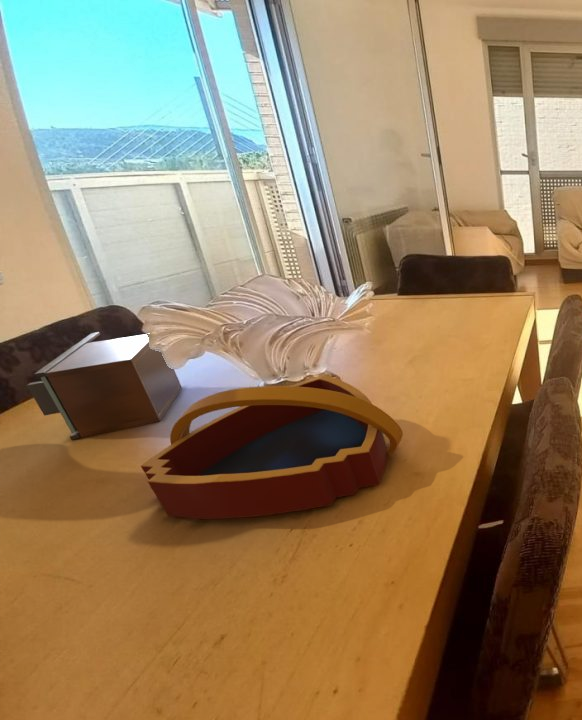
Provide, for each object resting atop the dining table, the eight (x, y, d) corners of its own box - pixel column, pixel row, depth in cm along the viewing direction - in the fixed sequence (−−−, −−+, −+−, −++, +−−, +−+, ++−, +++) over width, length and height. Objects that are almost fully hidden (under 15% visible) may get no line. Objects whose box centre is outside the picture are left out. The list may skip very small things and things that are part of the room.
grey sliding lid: (52, 437, 84) (19, 380, 80) (89, 400, 97) (62, 350, 93) (76, 432, 86) (45, 376, 81) (109, 397, 99) (84, 347, 94)
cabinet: (71, 440, 85) (33, 373, 80) (119, 388, 105) (91, 332, 100) (160, 421, 91) (130, 358, 86) (189, 375, 111) (167, 322, 105)
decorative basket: (114, 539, 65) (43, 458, 57) (254, 409, 90) (217, 340, 82) (359, 538, 65) (321, 456, 57) (432, 407, 89) (412, 338, 81)
